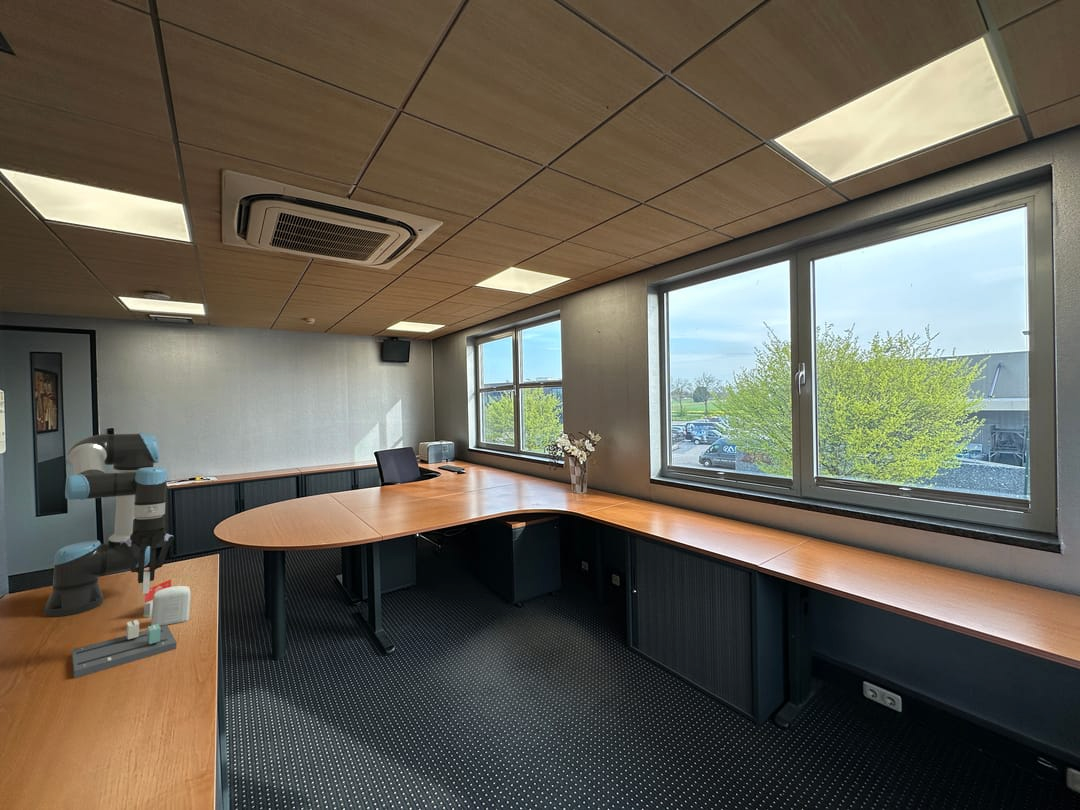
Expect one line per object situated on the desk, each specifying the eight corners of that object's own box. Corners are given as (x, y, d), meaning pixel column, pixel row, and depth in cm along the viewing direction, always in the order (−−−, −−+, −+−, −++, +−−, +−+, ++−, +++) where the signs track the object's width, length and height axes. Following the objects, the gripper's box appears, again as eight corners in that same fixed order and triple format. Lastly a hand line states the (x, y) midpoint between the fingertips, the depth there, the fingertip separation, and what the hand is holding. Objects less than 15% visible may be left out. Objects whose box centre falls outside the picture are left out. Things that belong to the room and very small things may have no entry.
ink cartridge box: (175, 604, 168) (177, 579, 168) (149, 618, 157) (151, 590, 157) (169, 604, 168) (171, 578, 168) (142, 617, 157) (144, 590, 157)
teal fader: (147, 641, 137) (147, 626, 137) (157, 638, 139) (158, 623, 139) (149, 645, 134) (150, 630, 135) (159, 642, 136) (160, 627, 136)
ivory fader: (126, 636, 139) (126, 621, 139) (136, 633, 141) (137, 619, 141) (127, 641, 137) (128, 626, 137) (138, 638, 139) (139, 623, 139)
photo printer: (189, 616, 159) (191, 582, 159) (188, 621, 155) (190, 586, 156) (152, 623, 153) (154, 587, 153) (150, 628, 150) (152, 592, 150)
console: (71, 656, 132) (72, 648, 132) (166, 630, 148) (167, 624, 148) (74, 678, 121) (74, 670, 121) (176, 648, 138) (176, 641, 138)
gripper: (121, 521, 132) (117, 601, 131) (177, 515, 141) (173, 590, 140) (120, 517, 137) (115, 594, 136) (174, 512, 146) (170, 583, 145)
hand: (145, 592), depth 138 cm, fingers closed
